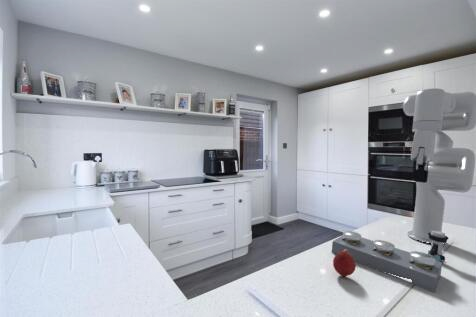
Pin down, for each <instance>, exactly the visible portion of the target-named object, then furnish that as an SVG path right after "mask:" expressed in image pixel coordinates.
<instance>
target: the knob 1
mask: <svg viewBox="0 0 476 317" xmlns="http://www.w3.org/2000/svg"><path fill="white" fill-rule="evenodd" d="M342 236H343V239H344V240H345V241H346V242H349V243H352V244H355V245H357V244H358V243H360V242H361V237H362V234H361V233H359V232H356V231H352V230H344V231H343V233H342Z"/></svg>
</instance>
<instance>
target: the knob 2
mask: <svg viewBox="0 0 476 317" xmlns="http://www.w3.org/2000/svg"><path fill="white" fill-rule="evenodd" d="M410 261H412V264H414V265H417V266H420V267H423V268H426V269H429V270H431V268H433V267H435V258H434V257H432V256H431V255H428V253H425V252H422V251H416V250H413V251H410Z"/></svg>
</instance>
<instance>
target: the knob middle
mask: <svg viewBox="0 0 476 317" xmlns="http://www.w3.org/2000/svg"><path fill="white" fill-rule="evenodd" d="M373 241H374V244H373V248H374V249H375V251H376V252H379V253H382V254H385V255H387V256H391V254H393V253H394V248H396V247H395V244H393V243H392V242H389V241H386V240H381V239H375V240H373Z"/></svg>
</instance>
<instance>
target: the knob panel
mask: <svg viewBox="0 0 476 317" xmlns="http://www.w3.org/2000/svg"><path fill="white" fill-rule="evenodd" d="M373 244H374V240H371V239H368V238H365V237H362V236H361V242H360V243H358V244H357V245H355V244H352V243H349V242H346V241H345V240H344V239H343V235H341V236H339V237H338V238H336V239H334V240H333V241H332V244H331V253H333V254H334V255H335V254H336V255H337V254H338V253H340V252H342V251H343V250H345V249H347V250H348V254H350V255H351V256H352V258H353V259H354V261H355V263H357V264H358V263H359V264H361V265H363V266H366V267H369V268H371V269H373V268H374V270H376V269H377V270H376V271H378V270H380V271H379V272H381V271H383V272H382V273H384V272H386V273H390V274H393V275H396V276H399V277H403V278H407V279H411V280H412V283H411V284H412V285H415V286H417V287H420V288H422V289H425V290H427V291H430V292H432V293H436V290H437V287H438V284H439V281H440V278H441V274H442V267H443V264H442V262H439V261H436V260H435V267H433V268H431V270H429V269H426V268H423V267H420V266H417V265H414V264H412V261H410V252H411V251H410V252H409V251H407V250H403V249H400V248H396V247H395V248H394V253H393V254H391V256H387V255H385V254H382V253H379V252H376V251H375V249H374V248H373ZM386 273H385V274H386Z"/></svg>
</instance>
